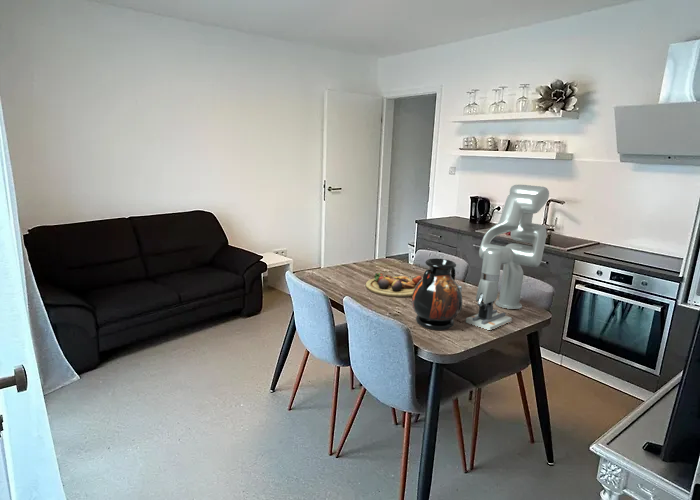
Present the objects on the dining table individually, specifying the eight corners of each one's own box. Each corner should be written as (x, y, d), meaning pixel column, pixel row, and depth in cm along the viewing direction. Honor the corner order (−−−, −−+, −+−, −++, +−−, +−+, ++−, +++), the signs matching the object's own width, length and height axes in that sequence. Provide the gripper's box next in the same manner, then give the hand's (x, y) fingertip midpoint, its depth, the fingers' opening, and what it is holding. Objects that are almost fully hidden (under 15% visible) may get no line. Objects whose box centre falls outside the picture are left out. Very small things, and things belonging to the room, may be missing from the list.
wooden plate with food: (422, 282, 248) (423, 268, 246) (426, 300, 217) (427, 284, 215) (367, 278, 251) (368, 265, 249) (363, 296, 220) (363, 280, 218)
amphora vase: (433, 311, 202) (438, 253, 196) (470, 327, 186) (477, 264, 179) (399, 319, 190) (404, 258, 183) (436, 338, 173) (443, 271, 167)
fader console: (487, 313, 202) (488, 307, 202) (511, 322, 194) (512, 315, 193) (465, 322, 191) (466, 315, 190) (489, 331, 182) (490, 324, 181)
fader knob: (481, 316, 192) (483, 302, 190) (491, 320, 188) (493, 306, 187) (477, 318, 190) (479, 304, 188) (487, 321, 186) (489, 307, 185)
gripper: (492, 271, 193) (487, 310, 197) (471, 277, 182) (466, 318, 186) (507, 276, 187) (502, 315, 192) (487, 282, 177) (482, 323, 181)
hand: (484, 316), depth 189 cm, fingers closed on fader knob, 3 cm apart
